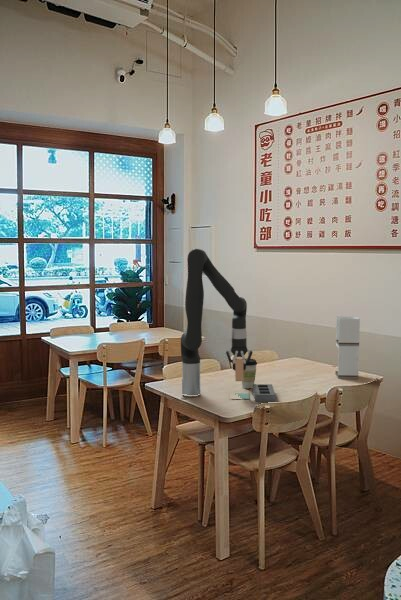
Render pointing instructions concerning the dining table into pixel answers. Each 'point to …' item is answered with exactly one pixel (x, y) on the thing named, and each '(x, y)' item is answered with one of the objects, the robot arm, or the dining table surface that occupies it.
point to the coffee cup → (249, 374)
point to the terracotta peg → (239, 369)
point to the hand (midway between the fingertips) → (239, 370)
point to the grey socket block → (264, 393)
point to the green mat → (243, 395)
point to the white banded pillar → (347, 346)
